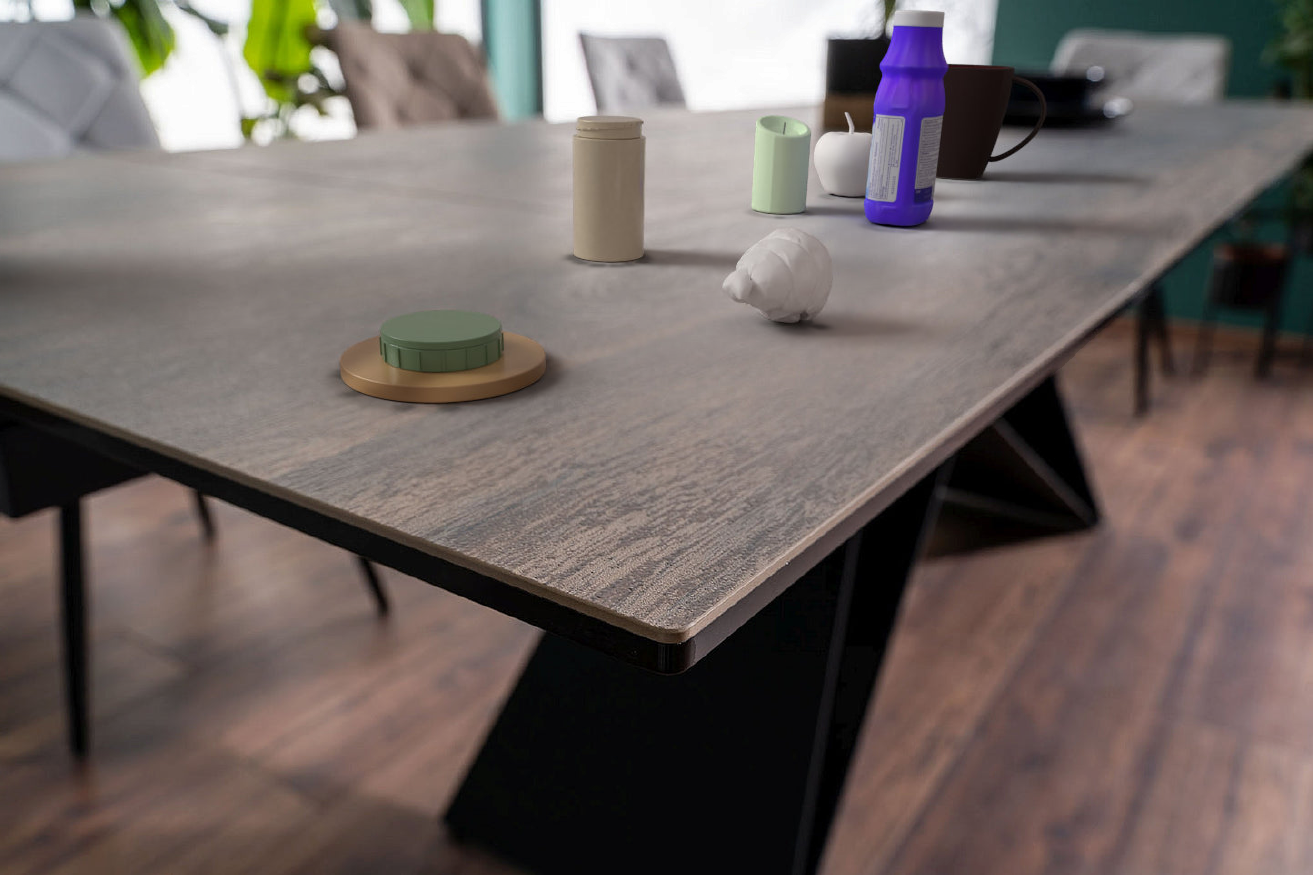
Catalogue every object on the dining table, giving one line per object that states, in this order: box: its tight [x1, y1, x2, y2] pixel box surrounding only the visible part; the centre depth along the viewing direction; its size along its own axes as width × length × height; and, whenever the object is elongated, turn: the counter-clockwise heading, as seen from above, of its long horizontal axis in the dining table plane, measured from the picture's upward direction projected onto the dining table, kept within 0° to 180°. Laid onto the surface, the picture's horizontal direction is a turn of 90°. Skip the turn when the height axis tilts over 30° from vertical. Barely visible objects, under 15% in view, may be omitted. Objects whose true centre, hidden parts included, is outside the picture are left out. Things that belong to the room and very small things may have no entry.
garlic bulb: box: [722, 227, 834, 324], centre depth 62 cm, size 6×6×5 cm
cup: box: [936, 63, 1047, 181], centre depth 121 cm, size 10×14×12 cm
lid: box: [379, 309, 504, 372], centre depth 53 cm, size 6×6×2 cm
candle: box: [750, 114, 812, 215], centre depth 98 cm, size 5×5×8 cm
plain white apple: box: [813, 111, 872, 198], centre depth 108 cm, size 7×7×8 cm
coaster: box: [339, 330, 547, 404], centre depth 54 cm, size 10×10×1 cm
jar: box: [572, 115, 647, 263], centre depth 78 cm, size 5×5×10 cm
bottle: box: [863, 9, 949, 227], centre depth 92 cm, size 7×6×17 cm
